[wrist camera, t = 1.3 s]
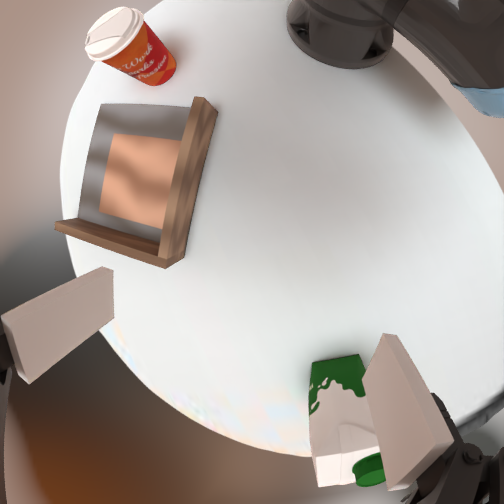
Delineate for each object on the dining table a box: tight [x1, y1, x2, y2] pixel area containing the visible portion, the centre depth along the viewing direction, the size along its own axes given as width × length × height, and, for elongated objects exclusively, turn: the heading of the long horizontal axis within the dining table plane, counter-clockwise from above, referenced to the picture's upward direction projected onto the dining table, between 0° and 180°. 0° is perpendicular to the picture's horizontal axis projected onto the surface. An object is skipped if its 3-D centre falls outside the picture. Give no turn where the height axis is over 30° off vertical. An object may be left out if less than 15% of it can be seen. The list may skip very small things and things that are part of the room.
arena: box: [55, 97, 218, 269], centre depth 32 cm, size 20×20×6 cm
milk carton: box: [309, 354, 386, 487], centre depth 27 cm, size 9×9×20 cm
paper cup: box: [85, 7, 176, 86], centre depth 24 cm, size 8×8×14 cm
